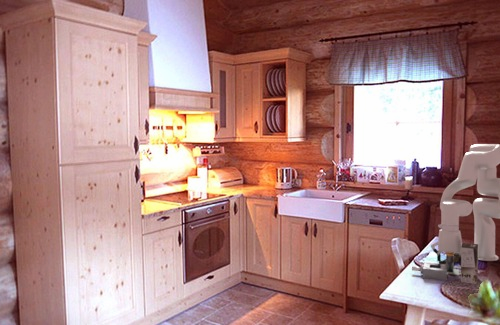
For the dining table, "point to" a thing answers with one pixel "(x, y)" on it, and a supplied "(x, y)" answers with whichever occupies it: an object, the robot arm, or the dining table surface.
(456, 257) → the hand tool
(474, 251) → the coffee box
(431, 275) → the chuck
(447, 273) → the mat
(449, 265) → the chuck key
